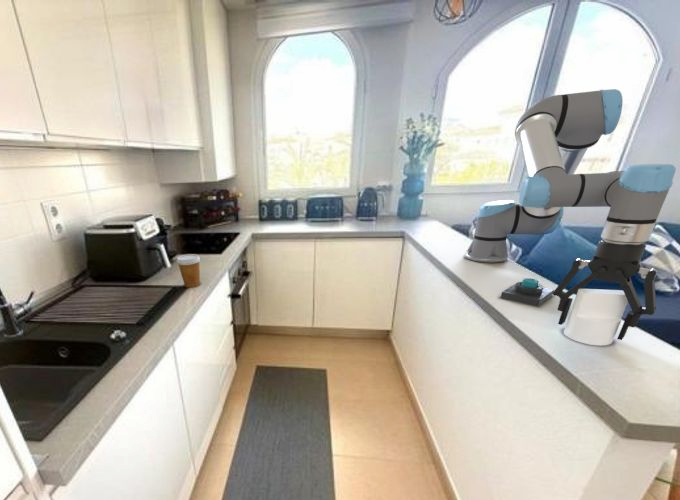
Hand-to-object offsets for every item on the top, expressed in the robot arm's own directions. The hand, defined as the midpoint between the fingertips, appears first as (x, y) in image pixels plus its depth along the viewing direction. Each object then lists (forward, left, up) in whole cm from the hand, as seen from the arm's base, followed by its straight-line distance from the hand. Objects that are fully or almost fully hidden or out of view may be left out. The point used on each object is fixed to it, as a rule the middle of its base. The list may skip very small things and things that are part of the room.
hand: (589, 329), depth 85 cm
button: (-18, -19, +2) cm, 26 cm away
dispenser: (-18, -19, -2) cm, 26 cm away
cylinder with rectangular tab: (0, 0, -2) cm, 2 cm away
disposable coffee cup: (+52, -115, -2) cm, 126 cm away
